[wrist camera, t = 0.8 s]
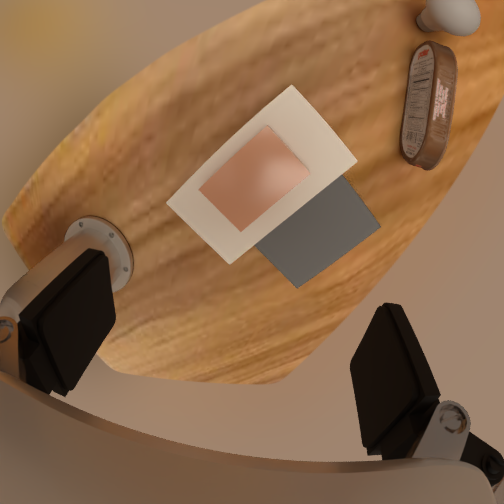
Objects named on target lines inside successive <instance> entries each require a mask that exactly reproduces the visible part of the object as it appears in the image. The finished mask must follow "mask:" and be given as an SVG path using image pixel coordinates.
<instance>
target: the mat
mask: <svg viewBox="0 0 504 504" xmlns="http://www.w3.org/2000/svg"><path fill="white" fill-rule="evenodd" d="M380 227H381V226H380V225H379V223H378V222H377V220H376V219H375V218H374V216H373V215H372V213H371V212H370V211H369V209H368V208H367V207H366V205H365V204H364V202H363V201H362V200H361V198H360V197H359V196H358V194H357V193H356V192H355V191H354V189H353V188H352V187H351V185H350V184H349V183H348V181H347V180H346V179H345V178H344V176H343V175H340V176H339V177H338V178H337V179H335V180H334V181H333V182H332V183H330V184H329V185H328V186H327V187H325V188H324V189H323V190H322V191H320V192H319V193H318V194H317V195H315V196H314V197H313V198H312V199H311V200H309V201H308V202H307V203H306V204H304V205H303V206H302V207H301V208H299V209H298V210H297V211H296V212H294V213H293V214H292V215H291V216H289V217H288V218H287V219H286V220H285V221H283V222H282V223H281V224H280V225H278V226H277V227H276V228H275V229H273V230H272V231H271V232H270V233H268V234H267V235H266V236H265V237H264V238H262V239H261V240H260V241H259V242H257V243H256V244H255V245H254V246H255V247H256V248H257V249H258V250H259V251H260V252H261V253H262V254H263V255H264V256H265V257H266V258H267V259H268V260H269V261H270V262H271V263H272V264H273V265H274V266H275V267H276V268H277V269H278V270H279V271H280V272H281V273H282V274H283V275H284V276H285V277H286V278H287V279H288V280H289V281H290V282H291V283H292V284H293V285H294V286H295V287H296V288H299V287H300V286H302V285H303V284H304V283H306V282H307V281H309V280H310V279H311V278H313V277H314V276H316V275H317V274H318V273H320V272H321V271H323V270H324V269H325V268H327V267H328V266H329V265H331V264H332V263H334V262H335V261H336V260H338V259H339V258H340V257H342V256H343V255H344V254H346V253H347V252H348V251H350V250H351V249H352V248H354V247H355V246H356V245H358V244H359V243H360V242H362V241H363V240H364V239H366V238H367V237H368V236H370V235H371V234H372V233H374V232H375V231H376V230H377V229H379V228H380Z"/></svg>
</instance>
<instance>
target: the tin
mask: <svg viewBox="0 0 504 504" xmlns="http://www.w3.org/2000/svg"><path fill="white" fill-rule="evenodd" d="M457 74H458V67H457V61H456V57H455V55H454V53H453V51H452V50H451V49H450V48H449V47H447V46H443V45H440V44H438V43H436V42H433V41H425V42H424V43H422V44H421V45H420V46H419V47H418V48H417V49H416V51H415V53H414V55H413V58H412V61H411V65H410V70H409V77H408V85H407V92H406V100H405V106H404V113H403V120H402V126H401V135H400V145H401V152H402V155H403V157H404V159H405V160H406V161H407V162H408V163H409V164H411V165H413V166H417V167H421V168H423V169H424V170H432V169H433V168H435V167H436V166H437V165H438V164H439V162H440V161H441V159H442V157H443V155H444V153H445V151H446V148H447V144H448V140H449V135H450V129H451V123H452V116H453V109H454V102H455V94H456V85H457Z"/></svg>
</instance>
